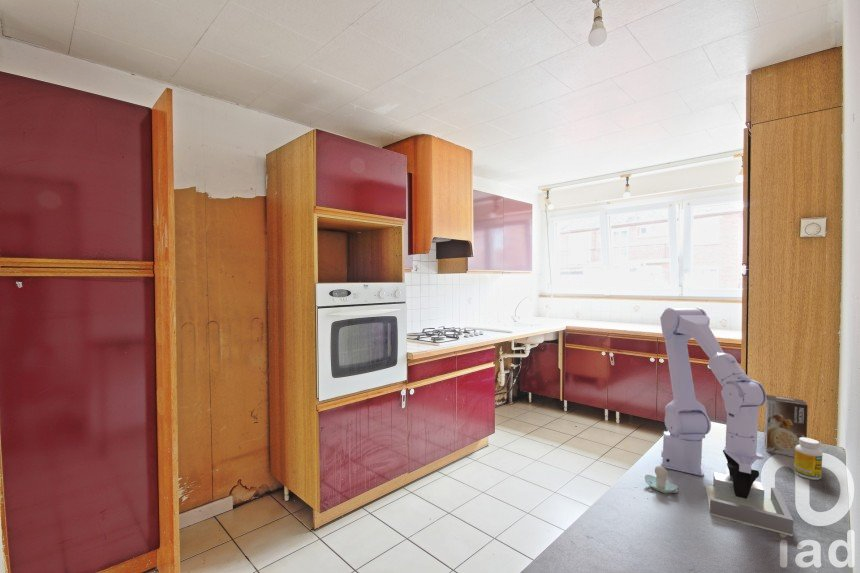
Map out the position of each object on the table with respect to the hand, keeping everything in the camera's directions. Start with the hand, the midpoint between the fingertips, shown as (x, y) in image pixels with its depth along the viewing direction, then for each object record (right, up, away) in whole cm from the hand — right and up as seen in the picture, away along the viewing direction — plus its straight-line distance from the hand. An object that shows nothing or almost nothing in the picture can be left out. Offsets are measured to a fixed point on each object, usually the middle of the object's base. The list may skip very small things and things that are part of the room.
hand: (738, 489), depth 95 cm
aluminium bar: (0, -3, 0) cm, 3 cm away
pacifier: (-14, -3, +7) cm, 16 cm away
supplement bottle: (+29, -3, +14) cm, 32 cm away
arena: (0, -4, -2) cm, 4 cm away
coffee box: (+35, -3, +28) cm, 45 cm away
